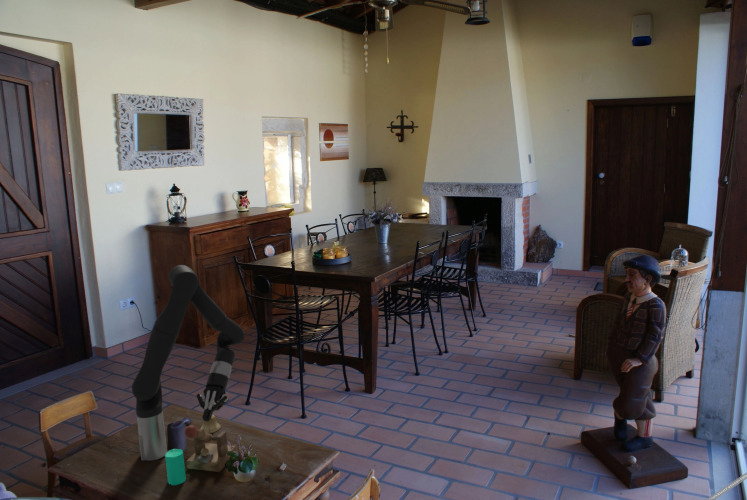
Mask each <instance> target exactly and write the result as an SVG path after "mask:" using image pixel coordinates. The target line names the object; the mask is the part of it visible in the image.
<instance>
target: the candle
mask: <svg viewBox="0 0 747 500" xmlns="http://www.w3.org/2000/svg"><path fill="white" fill-rule="evenodd" d="M164 458H165V460H164V461H165V467H166V468H165V469H166V475H167V483H168V485H170V484H171V486H179V485H180V484H183V483H185V481H186V480H187V476H186V465H185V458H184V451H183V449H180V448H173V449H169V450H167V453H166V454H165V456H164Z"/></svg>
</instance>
